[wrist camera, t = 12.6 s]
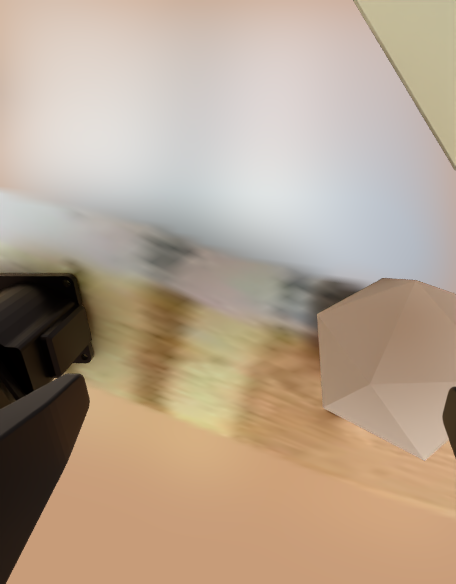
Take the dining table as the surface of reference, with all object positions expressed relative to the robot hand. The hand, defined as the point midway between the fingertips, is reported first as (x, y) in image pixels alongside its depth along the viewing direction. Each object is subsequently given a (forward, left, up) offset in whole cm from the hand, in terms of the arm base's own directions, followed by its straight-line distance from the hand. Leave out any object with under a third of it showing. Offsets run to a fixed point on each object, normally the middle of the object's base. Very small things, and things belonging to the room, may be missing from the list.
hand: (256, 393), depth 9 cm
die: (+7, -5, -13) cm, 16 cm away
